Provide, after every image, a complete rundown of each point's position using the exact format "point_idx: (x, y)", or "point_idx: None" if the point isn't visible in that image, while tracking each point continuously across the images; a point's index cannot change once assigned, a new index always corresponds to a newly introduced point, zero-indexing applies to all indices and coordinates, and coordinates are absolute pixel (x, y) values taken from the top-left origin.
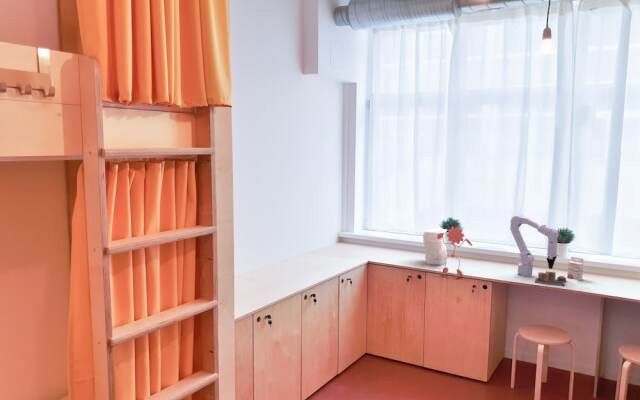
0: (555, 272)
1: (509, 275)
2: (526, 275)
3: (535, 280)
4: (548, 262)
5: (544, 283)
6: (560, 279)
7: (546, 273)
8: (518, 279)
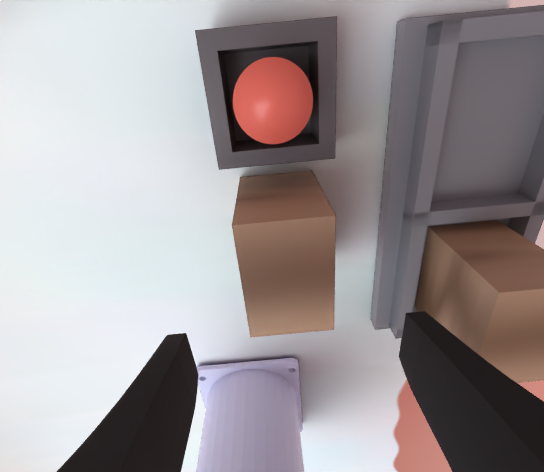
0: (247, 226)
1: None
2: (296, 403)
3: None
4: None
5: None
6: (332, 108)
7: (522, 312)
8: (385, 406)
